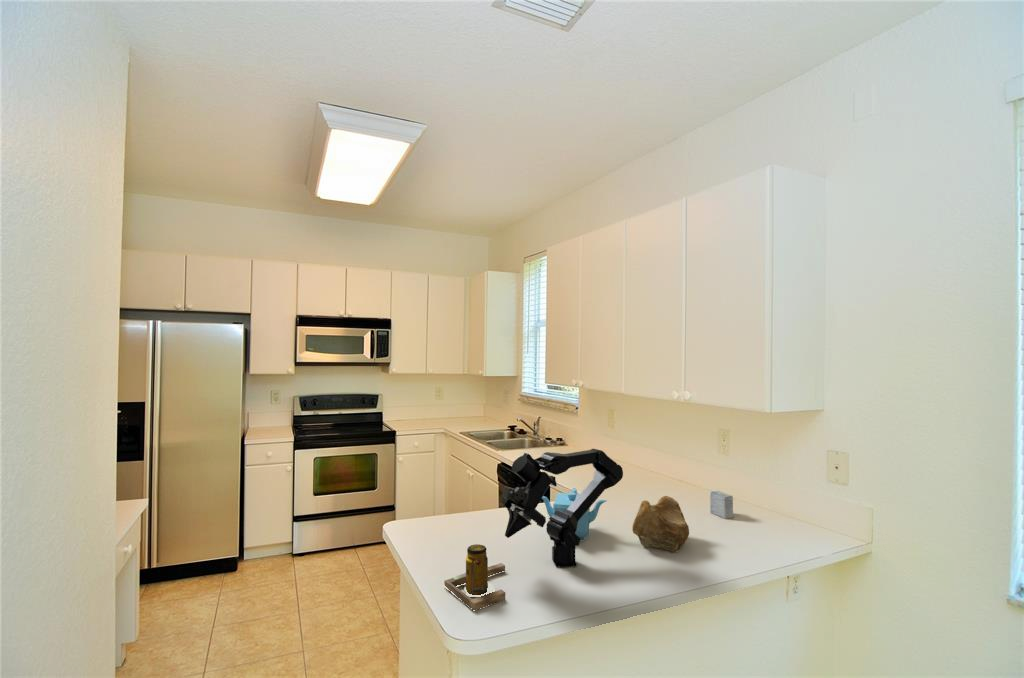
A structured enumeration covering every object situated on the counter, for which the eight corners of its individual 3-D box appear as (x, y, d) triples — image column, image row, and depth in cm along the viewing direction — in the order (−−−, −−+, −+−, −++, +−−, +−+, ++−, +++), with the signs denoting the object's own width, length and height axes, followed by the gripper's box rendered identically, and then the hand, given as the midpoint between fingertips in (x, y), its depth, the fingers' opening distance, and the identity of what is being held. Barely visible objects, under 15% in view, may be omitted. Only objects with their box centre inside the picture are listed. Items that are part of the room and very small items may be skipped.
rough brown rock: (669, 565, 158) (674, 518, 157) (624, 546, 169) (628, 502, 169) (702, 547, 174) (707, 504, 173) (659, 530, 186) (663, 490, 185)
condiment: (462, 586, 142) (462, 543, 142) (492, 583, 144) (492, 541, 144) (466, 599, 135) (466, 554, 135) (497, 595, 137) (497, 551, 137)
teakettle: (568, 548, 169) (569, 504, 169) (535, 531, 184) (535, 490, 184) (609, 536, 179) (609, 495, 179) (574, 521, 195) (574, 483, 195)
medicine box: (733, 517, 199) (733, 495, 199) (724, 519, 198) (724, 497, 198) (718, 511, 207) (718, 490, 207) (710, 513, 205) (709, 491, 205)
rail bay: (501, 569, 153) (501, 562, 153) (533, 589, 140) (533, 581, 140) (444, 587, 141) (444, 579, 141) (473, 611, 129) (473, 602, 129)
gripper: (502, 470, 158) (473, 514, 152) (532, 480, 141) (500, 530, 135) (527, 490, 161) (499, 534, 155) (558, 502, 144) (529, 551, 139)
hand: (506, 536), depth 146 cm, fingers closed
